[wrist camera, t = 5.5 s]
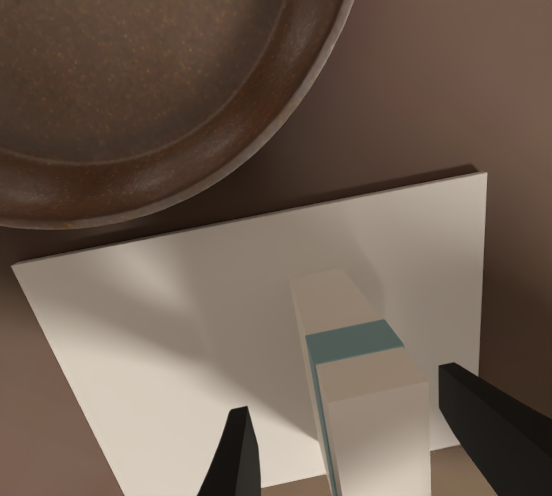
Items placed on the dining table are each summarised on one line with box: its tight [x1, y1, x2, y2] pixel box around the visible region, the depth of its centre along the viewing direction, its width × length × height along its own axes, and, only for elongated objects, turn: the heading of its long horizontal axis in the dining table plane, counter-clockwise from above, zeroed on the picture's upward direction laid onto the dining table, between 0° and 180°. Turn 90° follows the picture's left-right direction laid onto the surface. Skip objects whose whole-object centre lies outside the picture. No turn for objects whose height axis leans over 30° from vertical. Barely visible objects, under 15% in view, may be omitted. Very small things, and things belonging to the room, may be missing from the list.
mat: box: [11, 172, 487, 496], centre depth 14 cm, size 18×14×1 cm
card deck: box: [289, 268, 431, 496], centre depth 11 cm, size 2×9×6 cm, turn 10°
